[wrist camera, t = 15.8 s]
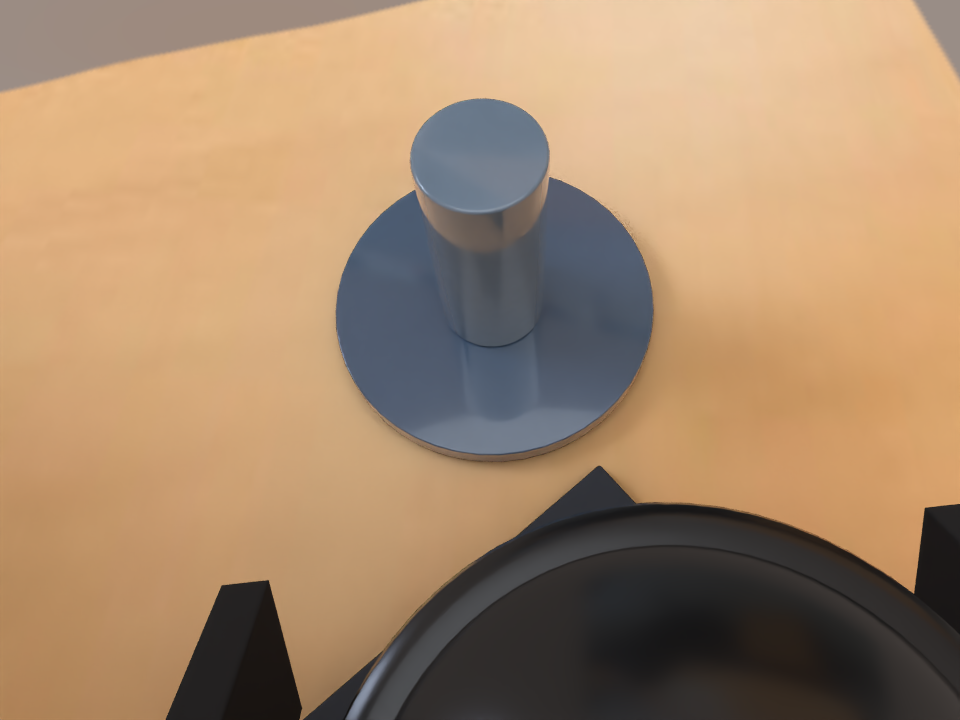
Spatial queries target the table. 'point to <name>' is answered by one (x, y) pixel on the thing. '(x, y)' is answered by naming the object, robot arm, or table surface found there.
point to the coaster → (581, 498)
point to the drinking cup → (667, 629)
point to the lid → (493, 296)
